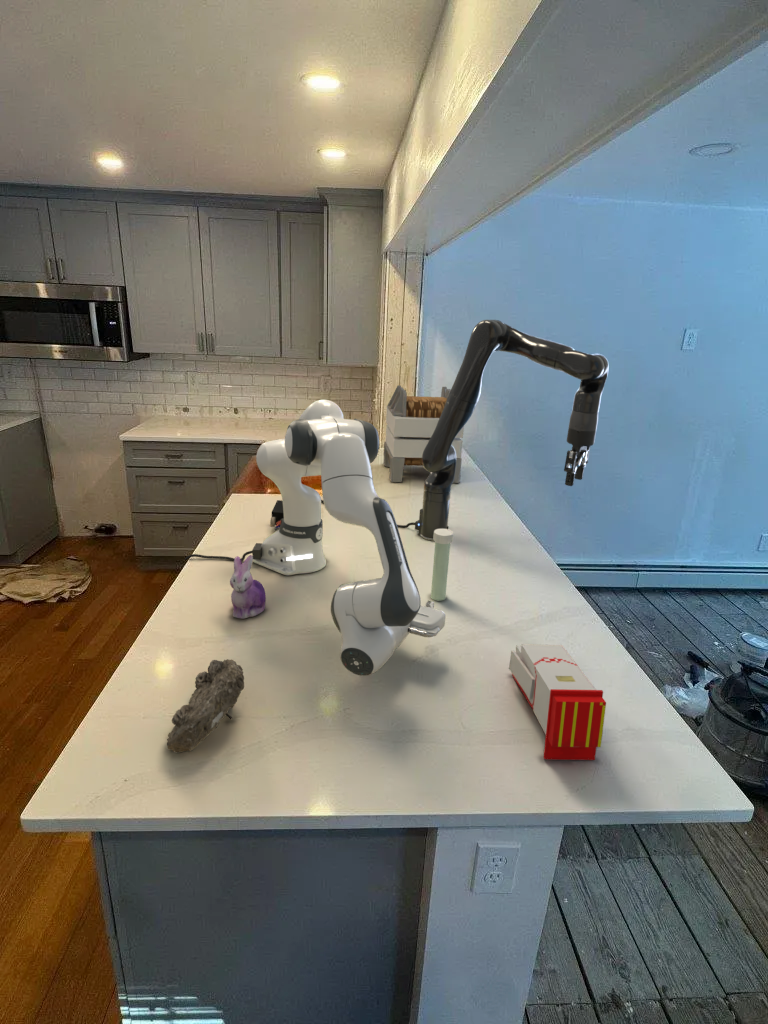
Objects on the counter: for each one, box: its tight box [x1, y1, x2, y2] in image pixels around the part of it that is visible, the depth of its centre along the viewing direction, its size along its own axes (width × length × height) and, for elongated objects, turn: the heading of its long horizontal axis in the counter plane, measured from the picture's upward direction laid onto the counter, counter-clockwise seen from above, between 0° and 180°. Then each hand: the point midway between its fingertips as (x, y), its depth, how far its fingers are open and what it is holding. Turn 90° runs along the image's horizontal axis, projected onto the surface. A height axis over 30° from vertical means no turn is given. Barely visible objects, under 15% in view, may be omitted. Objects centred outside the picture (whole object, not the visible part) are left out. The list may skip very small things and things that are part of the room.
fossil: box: [166, 658, 245, 754], centre depth 106 cm, size 22×10×15 cm
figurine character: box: [269, 499, 284, 532], centre depth 201 cm, size 7×8×15 cm
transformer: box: [383, 384, 465, 484], centre depth 268 cm, size 34×33×41 cm
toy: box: [508, 643, 607, 761], centre depth 112 cm, size 12×13×30 cm
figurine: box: [229, 554, 267, 619], centre depth 143 cm, size 9×10×15 cm
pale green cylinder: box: [430, 541, 451, 602], centre depth 154 cm, size 4×4×19 cm
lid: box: [433, 528, 454, 544], centre depth 151 cm, size 5×5×2 cm
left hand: (412, 599), depth 136 cm, fingers open, 8 cm apart
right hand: (573, 482), depth 165 cm, fingers open, 8 cm apart
